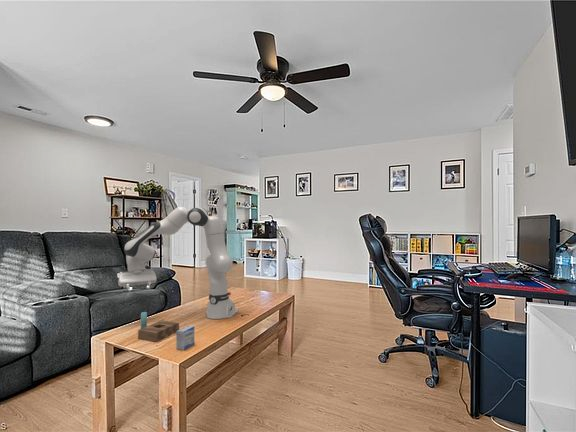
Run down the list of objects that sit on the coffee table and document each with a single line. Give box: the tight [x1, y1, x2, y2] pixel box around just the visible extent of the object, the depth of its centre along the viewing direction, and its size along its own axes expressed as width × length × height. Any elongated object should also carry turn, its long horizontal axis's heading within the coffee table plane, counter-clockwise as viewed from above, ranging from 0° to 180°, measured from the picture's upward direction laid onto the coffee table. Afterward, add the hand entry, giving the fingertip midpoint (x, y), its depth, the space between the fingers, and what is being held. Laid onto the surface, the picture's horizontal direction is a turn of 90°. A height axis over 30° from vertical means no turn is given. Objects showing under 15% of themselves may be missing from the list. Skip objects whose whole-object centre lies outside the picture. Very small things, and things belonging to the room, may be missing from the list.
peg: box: [140, 311, 148, 329], centre depth 158 cm, size 3×3×10 cm
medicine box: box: [175, 325, 195, 351], centre depth 138 cm, size 8×4×9 cm, turn 160°
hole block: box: [137, 319, 180, 343], centre depth 153 cm, size 16×12×4 cm
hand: (139, 290), depth 168 cm, fingers open, 8 cm apart
